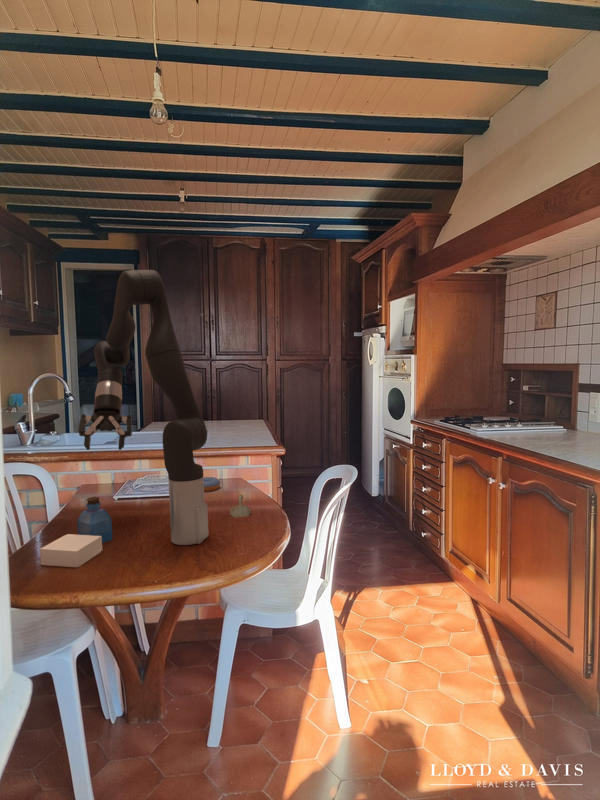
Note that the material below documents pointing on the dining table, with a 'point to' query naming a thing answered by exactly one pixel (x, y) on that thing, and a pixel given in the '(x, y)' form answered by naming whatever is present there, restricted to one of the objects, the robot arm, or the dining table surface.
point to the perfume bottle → (95, 521)
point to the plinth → (71, 550)
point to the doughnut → (210, 483)
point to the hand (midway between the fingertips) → (104, 448)
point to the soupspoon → (240, 509)
